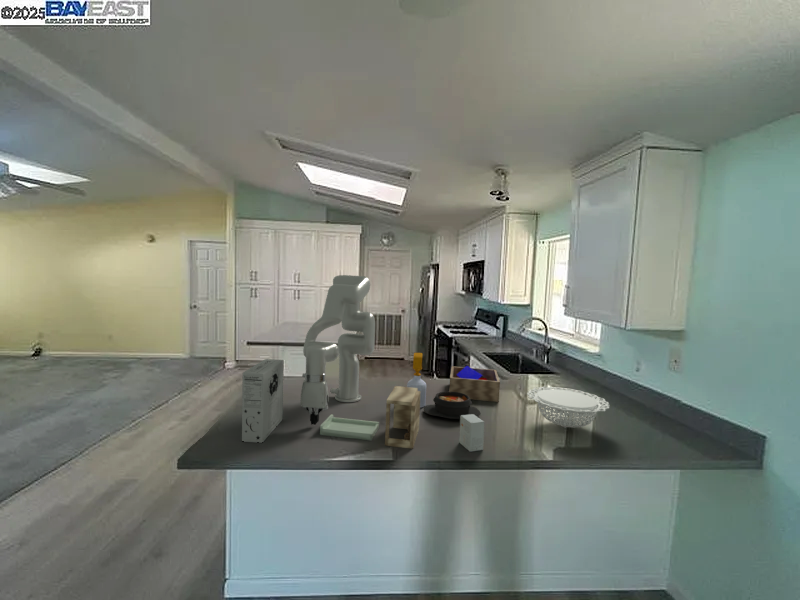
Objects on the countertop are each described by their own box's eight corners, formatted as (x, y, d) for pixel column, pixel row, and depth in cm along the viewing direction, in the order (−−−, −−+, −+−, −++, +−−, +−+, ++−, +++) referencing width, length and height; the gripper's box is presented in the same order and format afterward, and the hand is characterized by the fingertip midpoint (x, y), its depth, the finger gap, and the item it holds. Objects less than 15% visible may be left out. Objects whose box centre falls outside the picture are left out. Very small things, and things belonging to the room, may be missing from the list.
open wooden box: (449, 397, 197) (450, 377, 196) (450, 383, 221) (451, 366, 220) (498, 401, 193) (499, 382, 193) (495, 387, 217) (496, 369, 217)
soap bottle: (425, 402, 188) (428, 352, 186) (425, 409, 179) (427, 356, 177) (407, 401, 189) (409, 350, 187) (405, 407, 180) (407, 354, 178)
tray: (319, 434, 147) (320, 425, 147) (330, 422, 159) (331, 414, 159) (371, 440, 144) (372, 431, 144) (378, 427, 156) (379, 419, 156)
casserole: (475, 408, 183) (476, 390, 182) (484, 424, 165) (485, 404, 164) (421, 406, 182) (422, 389, 182) (425, 422, 164) (426, 402, 163)
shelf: (384, 445, 141) (386, 399, 139) (393, 426, 158) (395, 385, 156) (413, 448, 139) (415, 402, 138) (418, 429, 156) (420, 388, 155)
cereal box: (264, 418, 160) (265, 358, 158) (282, 419, 160) (283, 359, 158) (241, 442, 139) (242, 372, 137) (262, 443, 139) (263, 373, 137)
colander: (574, 412, 183) (576, 385, 182) (626, 442, 152) (629, 410, 151) (511, 415, 176) (513, 387, 175) (552, 446, 145) (555, 413, 144)
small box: (483, 450, 140) (485, 421, 139) (469, 452, 138) (471, 423, 137) (472, 440, 147) (473, 413, 147) (458, 442, 145) (460, 414, 145)
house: (475, 385, 218) (477, 365, 217) (492, 397, 199) (493, 375, 198) (455, 386, 216) (456, 365, 215) (470, 398, 196) (471, 375, 195)
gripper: (293, 378, 150) (292, 425, 151) (330, 381, 148) (329, 429, 149) (301, 373, 157) (300, 417, 159) (337, 376, 155) (335, 421, 156)
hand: (314, 423), depth 154 cm, fingers closed
